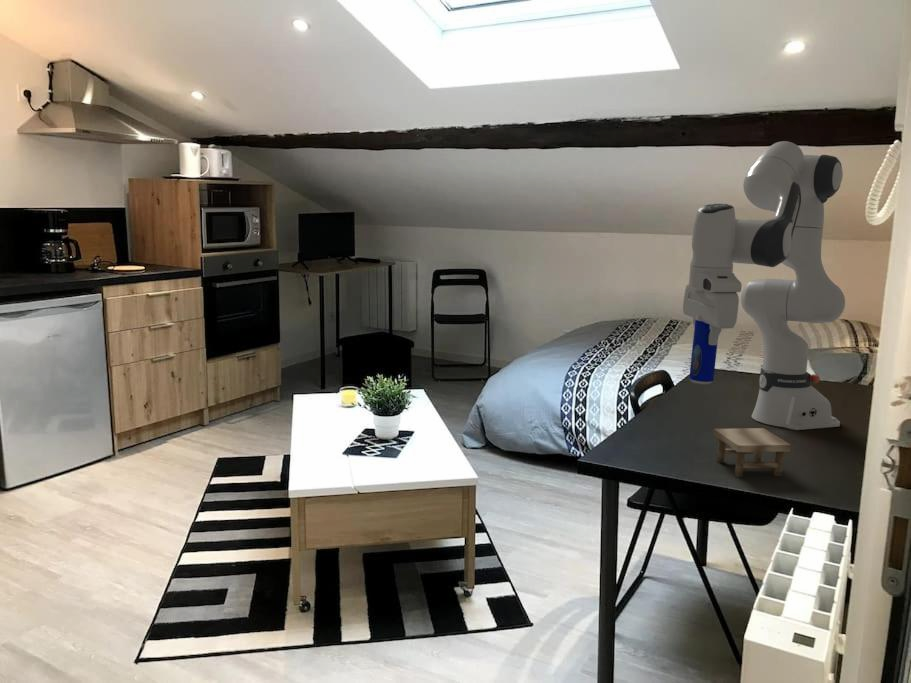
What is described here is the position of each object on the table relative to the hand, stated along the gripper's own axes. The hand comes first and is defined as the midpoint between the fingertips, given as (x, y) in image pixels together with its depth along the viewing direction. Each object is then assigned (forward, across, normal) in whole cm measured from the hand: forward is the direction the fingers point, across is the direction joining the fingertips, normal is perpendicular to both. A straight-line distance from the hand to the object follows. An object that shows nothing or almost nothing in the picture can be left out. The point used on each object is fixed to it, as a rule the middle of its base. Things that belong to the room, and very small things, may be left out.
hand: (705, 341), depth 164 cm
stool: (+29, +3, +11) cm, 31 cm away
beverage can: (+9, 0, 0) cm, 9 cm away
